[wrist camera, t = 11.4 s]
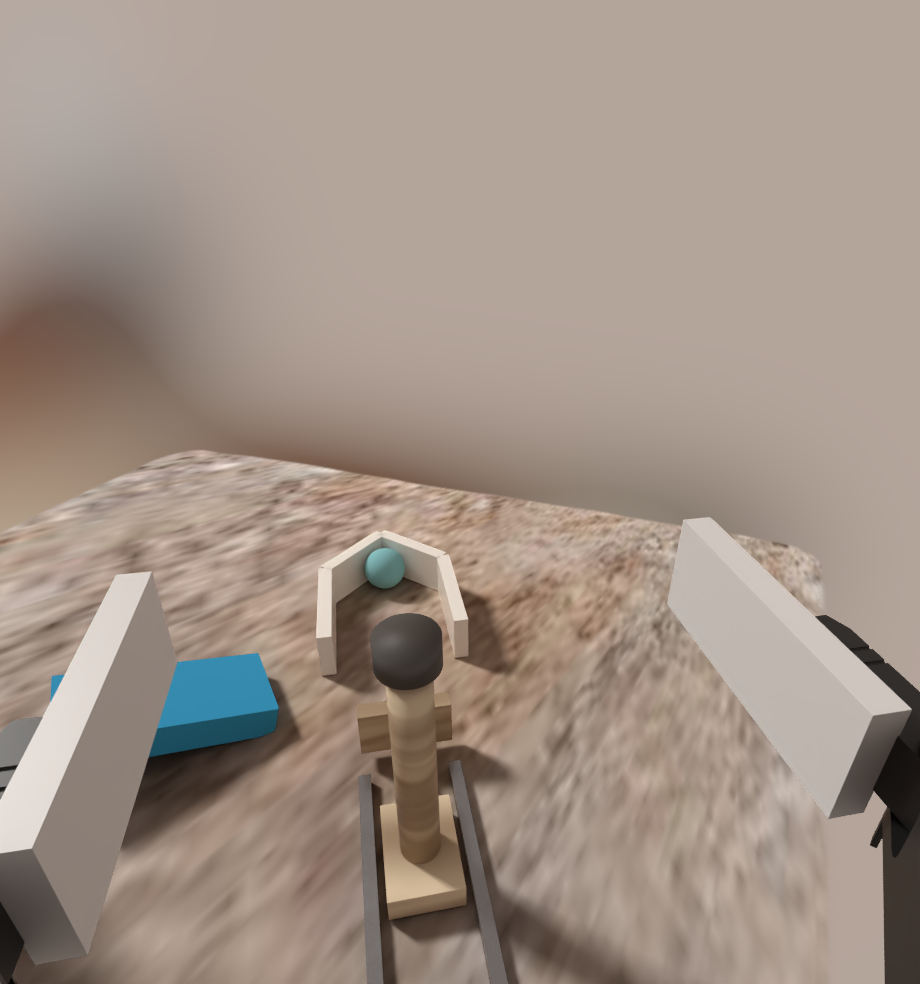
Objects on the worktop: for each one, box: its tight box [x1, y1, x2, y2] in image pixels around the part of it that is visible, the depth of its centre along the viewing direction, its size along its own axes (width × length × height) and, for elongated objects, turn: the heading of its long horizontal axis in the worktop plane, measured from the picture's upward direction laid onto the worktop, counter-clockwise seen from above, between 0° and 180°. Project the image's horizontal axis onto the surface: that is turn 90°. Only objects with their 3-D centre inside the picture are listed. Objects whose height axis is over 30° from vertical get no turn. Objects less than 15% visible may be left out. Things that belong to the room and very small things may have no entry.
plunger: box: [357, 613, 466, 920], centre depth 37 cm, size 12×6×17 cm, turn 10°
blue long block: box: [50, 653, 279, 757], centre depth 46 cm, size 7×7×18 cm
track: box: [359, 760, 508, 984], centre depth 35 cm, size 18×7×1 cm, turn 10°
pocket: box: [316, 530, 468, 676], centre depth 59 cm, size 16×12×4 cm
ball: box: [365, 548, 405, 589], centre depth 63 cm, size 4×4×4 cm
